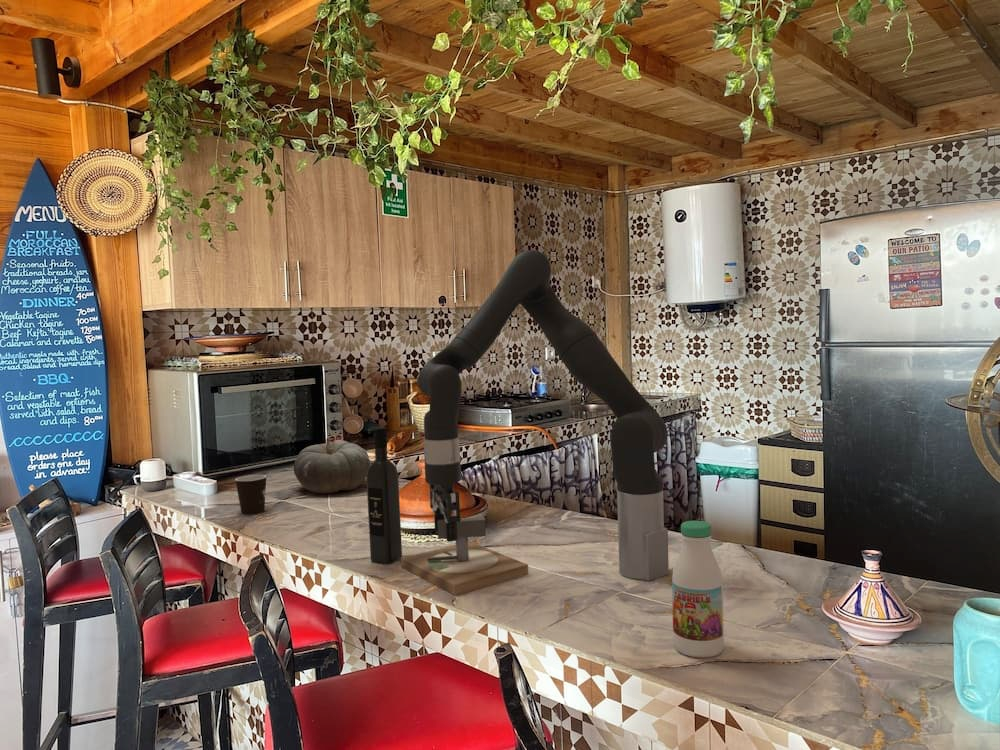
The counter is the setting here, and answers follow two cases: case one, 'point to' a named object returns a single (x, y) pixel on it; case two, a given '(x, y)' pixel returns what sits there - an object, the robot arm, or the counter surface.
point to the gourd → (331, 467)
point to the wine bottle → (383, 504)
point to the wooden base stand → (464, 568)
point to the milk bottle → (697, 594)
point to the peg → (461, 536)
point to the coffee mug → (251, 493)
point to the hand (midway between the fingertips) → (445, 535)
